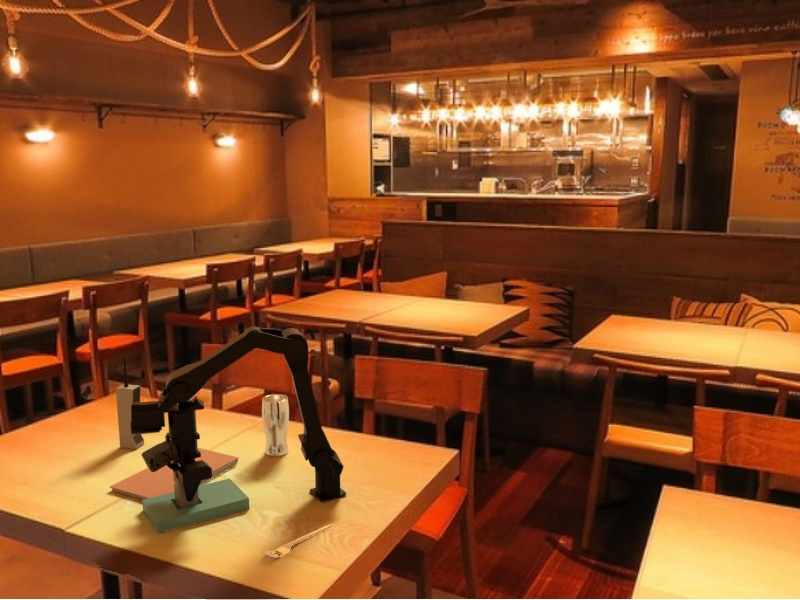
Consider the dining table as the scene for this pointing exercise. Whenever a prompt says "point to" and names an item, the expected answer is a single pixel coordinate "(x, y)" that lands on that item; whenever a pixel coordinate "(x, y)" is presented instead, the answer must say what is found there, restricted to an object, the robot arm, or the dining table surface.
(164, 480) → the notebook
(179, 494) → the block
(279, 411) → the beer glass
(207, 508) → the green slotted board
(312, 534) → the fork
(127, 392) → the vintage mobile phone
